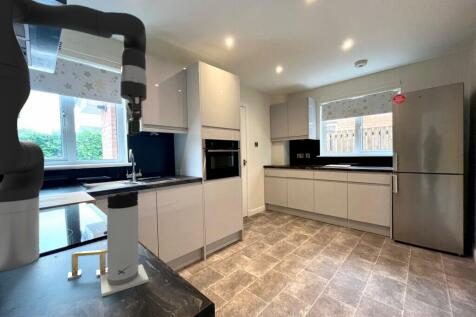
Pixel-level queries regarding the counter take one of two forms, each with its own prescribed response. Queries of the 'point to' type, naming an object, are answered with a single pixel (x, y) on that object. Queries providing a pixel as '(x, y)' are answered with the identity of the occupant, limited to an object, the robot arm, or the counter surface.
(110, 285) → the coaster
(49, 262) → the counter surface
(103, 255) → the gold barrier railing
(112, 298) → the counter surface
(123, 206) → the travel mug
